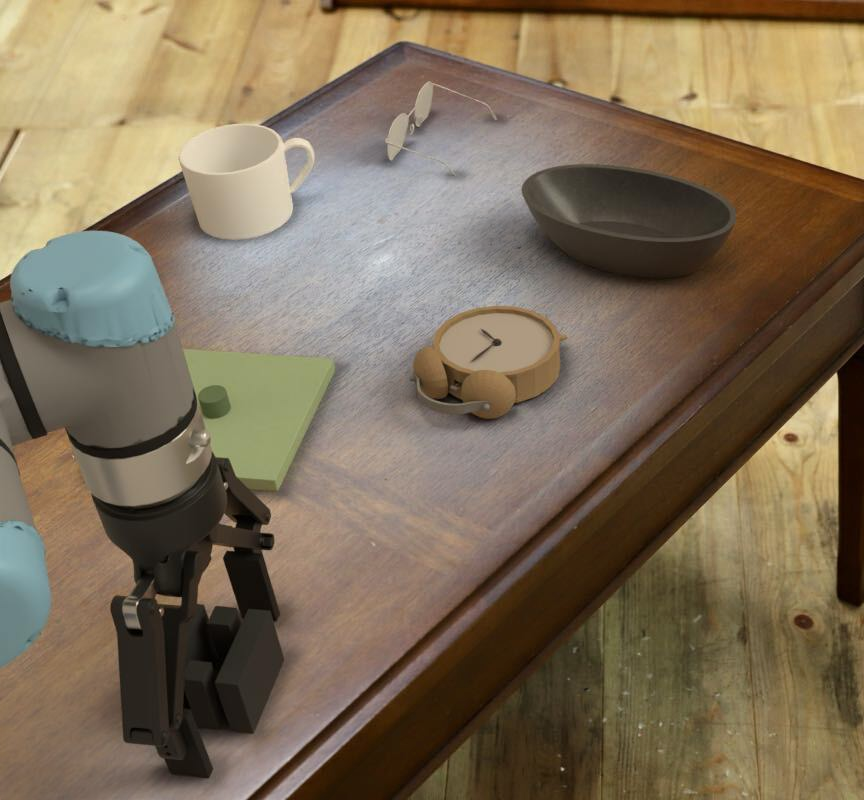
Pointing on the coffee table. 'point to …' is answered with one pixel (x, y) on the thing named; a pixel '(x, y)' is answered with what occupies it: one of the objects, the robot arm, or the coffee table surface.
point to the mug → (241, 179)
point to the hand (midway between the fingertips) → (228, 691)
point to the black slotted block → (230, 667)
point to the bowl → (629, 218)
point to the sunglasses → (420, 114)
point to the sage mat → (257, 408)
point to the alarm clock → (488, 361)
